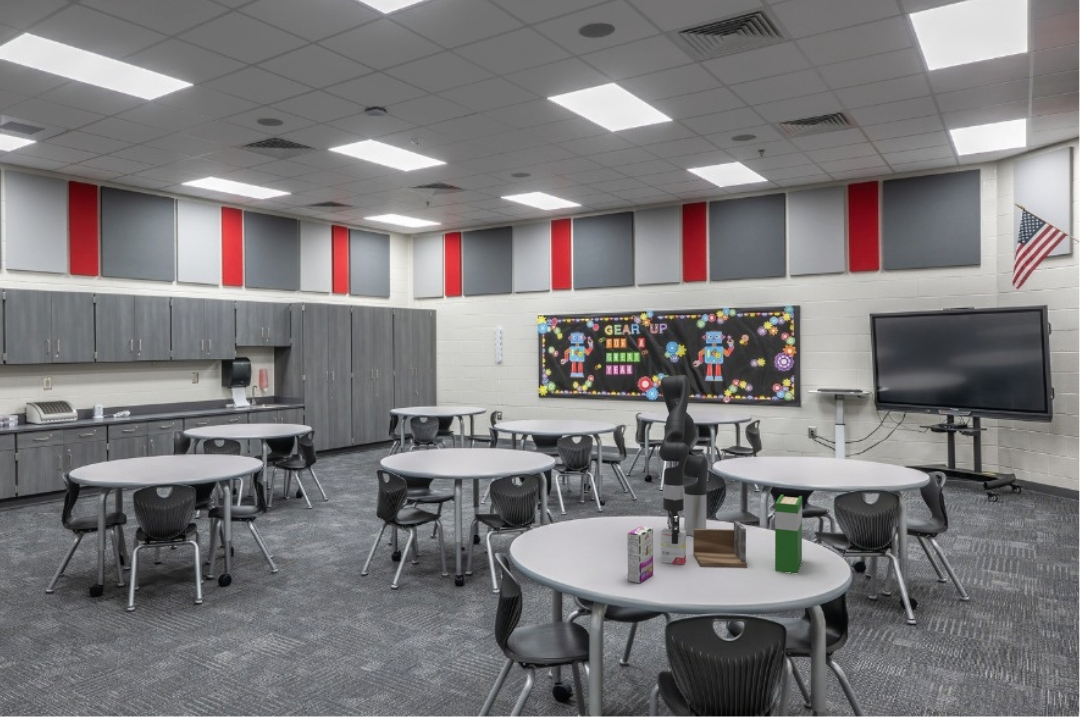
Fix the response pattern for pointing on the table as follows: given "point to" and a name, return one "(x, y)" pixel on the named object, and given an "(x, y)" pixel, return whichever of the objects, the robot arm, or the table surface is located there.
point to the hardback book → (788, 534)
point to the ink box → (673, 547)
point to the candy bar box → (640, 554)
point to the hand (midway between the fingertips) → (673, 540)
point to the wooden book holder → (720, 547)
